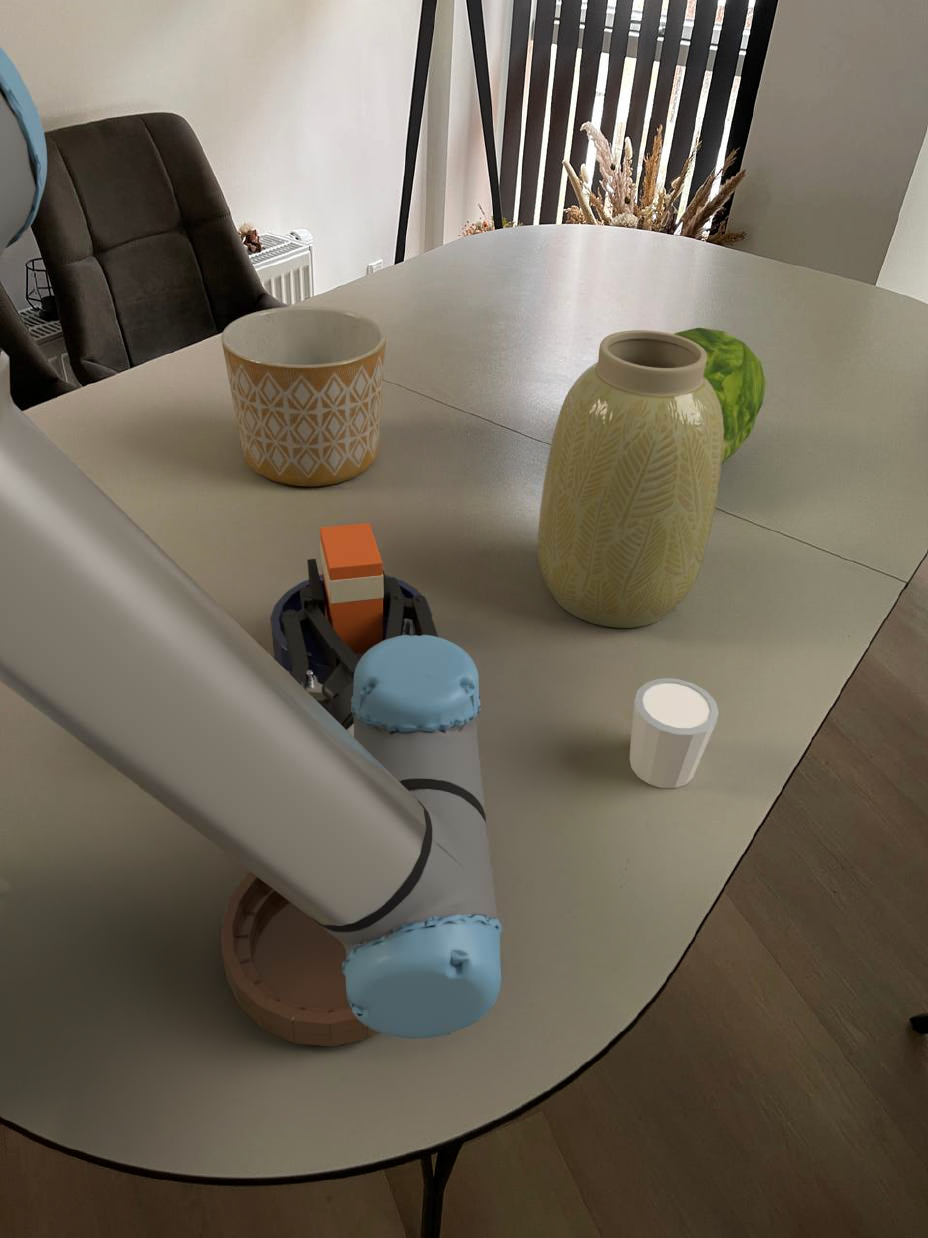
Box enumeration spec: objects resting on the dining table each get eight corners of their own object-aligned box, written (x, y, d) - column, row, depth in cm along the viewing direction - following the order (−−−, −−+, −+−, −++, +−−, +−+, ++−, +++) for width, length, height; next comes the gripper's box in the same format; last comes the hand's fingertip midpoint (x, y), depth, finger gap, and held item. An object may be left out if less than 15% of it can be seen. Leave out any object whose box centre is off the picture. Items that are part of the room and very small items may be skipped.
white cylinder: (703, 800, 79) (721, 740, 74) (620, 787, 80) (633, 726, 75) (701, 742, 84) (717, 683, 80) (624, 730, 85) (636, 671, 81)
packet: (334, 685, 87) (328, 568, 79) (325, 641, 92) (318, 526, 84) (384, 679, 88) (383, 562, 80) (372, 635, 93) (370, 522, 85)
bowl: (233, 1074, 59) (227, 1045, 57) (222, 884, 70) (216, 853, 68) (460, 1026, 62) (463, 996, 60) (415, 851, 73) (416, 821, 71)
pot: (283, 729, 83) (278, 678, 79) (269, 628, 94) (264, 578, 91) (445, 707, 86) (448, 657, 83) (413, 611, 98) (414, 563, 94)
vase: (661, 543, 110) (707, 313, 94) (717, 634, 97) (783, 385, 80) (516, 551, 107) (538, 316, 91) (553, 647, 94) (587, 391, 78)
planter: (256, 507, 112) (243, 375, 102) (220, 437, 126) (205, 314, 116) (408, 480, 119) (409, 354, 109) (358, 416, 133) (355, 299, 123)
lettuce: (640, 545, 121) (565, 447, 115) (688, 442, 136) (623, 351, 130) (755, 502, 110) (679, 391, 104) (794, 395, 124) (729, 292, 118)
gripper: (270, 791, 72) (249, 610, 90) (499, 756, 76) (436, 589, 94) (261, 719, 68) (241, 543, 85) (506, 686, 72) (438, 524, 89)
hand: (343, 568), depth 90 cm, fingers open, 5 cm apart
